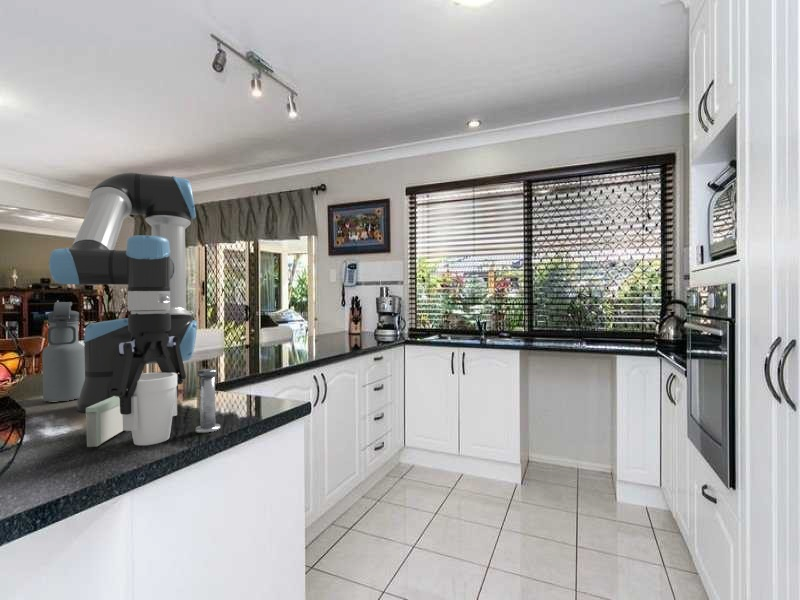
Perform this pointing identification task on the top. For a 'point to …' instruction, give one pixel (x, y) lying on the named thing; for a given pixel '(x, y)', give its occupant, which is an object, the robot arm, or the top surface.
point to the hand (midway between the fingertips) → (151, 422)
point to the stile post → (207, 401)
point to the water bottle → (63, 356)
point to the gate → (103, 421)
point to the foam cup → (154, 407)
